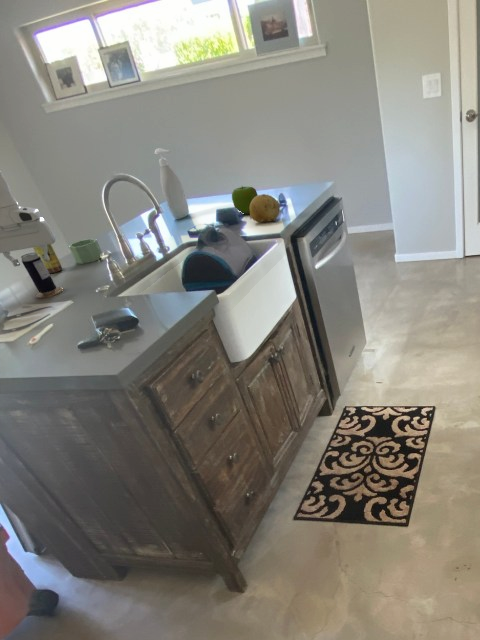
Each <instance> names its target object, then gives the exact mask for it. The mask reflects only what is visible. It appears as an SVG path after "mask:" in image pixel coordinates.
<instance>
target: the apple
mask: <svg viewBox="0 0 480 640" xmlns="http://www.w3.org/2000/svg"><path fill="white" fill-rule="evenodd" d="M258 195H259V194H258V191H257V190H256V188H255V187H254V186H243V185H241V186H240V187H239V186H238V187H236V188H234V189H233V190H232V192H231V200H232V204H233V206H234V208H237V209H238V210H239V211H241V212H242V213H244V214H242V215H243V216H244V215H245V216H246V215H250V204H251V201H252V200H253V199H254V198H255V197H256V196H258Z"/></svg>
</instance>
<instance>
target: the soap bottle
mask: <svg viewBox="0 0 480 640" xmlns="http://www.w3.org/2000/svg"><path fill="white" fill-rule="evenodd" d="M170 152H171V149H164V148H161V147H158V148H156V149H155V150H154V155H158V156H159V157H160V158H159V159H158V164H159V167H160V168H159V169H160V171H159V172H160V173H159V178H160V187H161V191H162V194H163V197H164V200H165V202H166V205H167V207H168V210H169V212H170V214H171V216H172V217H173V218H174V220H181V219H184V218H186V217H187V216H188V215H189V213H190V211H189V205H188V200H187V196H186V193H185V190H184V187H183V185H182V183H181V181H180V179H179V177H178V175H177V174H176V172H175V171H174V170H173V169H172V168H171V166H170V165H169V162H168V159H167V158H166V157H164V156H163V154H167V153H170Z"/></svg>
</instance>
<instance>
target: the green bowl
mask: <svg viewBox="0 0 480 640" xmlns="http://www.w3.org/2000/svg"><path fill="white" fill-rule="evenodd" d="M68 248H69V250H70V252H71V253H72V256H73V258H74V260H75V262H76V264H80V265H81V264H83V265H84V264H88V263H94V262H96V261H99V260H100V259H99V258H100V254H101V253H103V251H102V249H101V246H100V244H99V242H98V240H97V239H96V238H87V239H83V240H78V241H75V242H73V243H71V244H70V245H69V246H68Z"/></svg>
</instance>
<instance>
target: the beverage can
mask: <svg viewBox="0 0 480 640" xmlns="http://www.w3.org/2000/svg"><path fill="white" fill-rule="evenodd" d="M20 258H21V263H22V264H23V266H24V268H25V270H26V272H27V273H28V275H29V277H30V279H31V281H32V283H33V285H34V286H35V288H36V289H37V290H36V291H38V293H39V292H40V293H42V294H44V295H45V294H50V293H53V292H55V289H56V287H57V285H56V284H55V282H54V280H53V278H52V275H50V274H51V273H50V274H49V273H48V271H47V269H46V267H45V265H44V263H43V261H42V259H41V258H40V256H39V255H37V253H35V252H30V253H25V254H23V255H21V256H20Z"/></svg>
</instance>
